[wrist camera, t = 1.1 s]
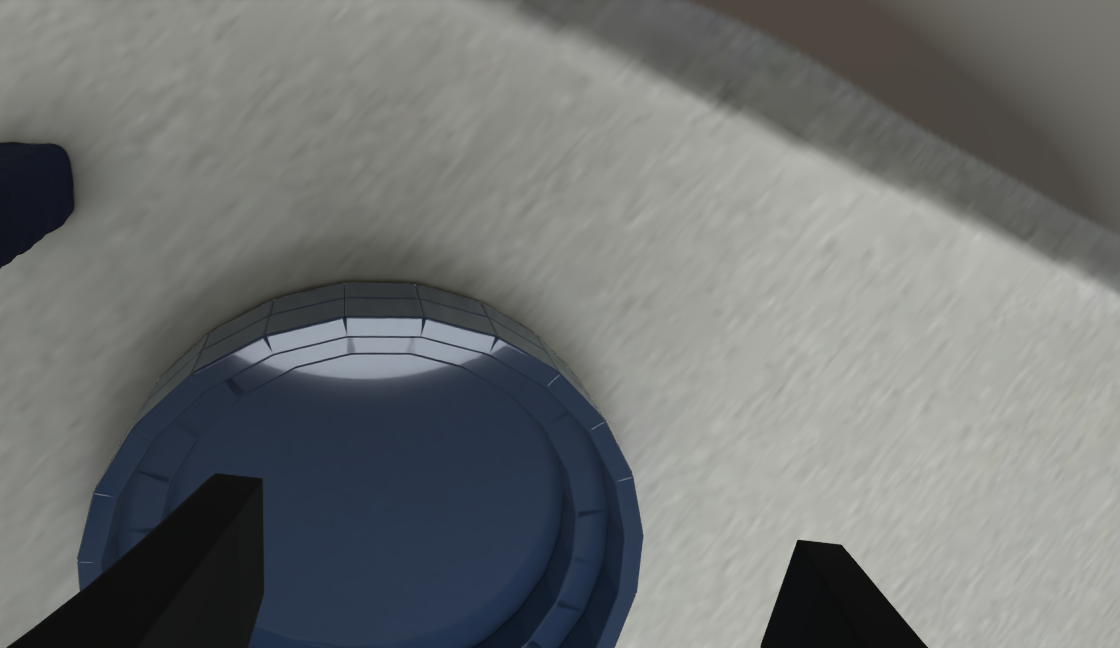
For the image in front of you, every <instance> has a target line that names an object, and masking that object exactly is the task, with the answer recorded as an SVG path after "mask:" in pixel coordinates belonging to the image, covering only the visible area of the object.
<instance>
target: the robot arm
mask: <svg viewBox="0 0 1120 648" xmlns="http://www.w3.org/2000/svg"><path fill="white" fill-rule="evenodd" d="M263 596H264V534H263V478H256V477H247V476H238V475H229V474H221V473H215V474H214V475H212V476H211V477H209V478H208V479H207V480H206V481H205V482H204V483H202V484H201V485H200V486H199V487H198V488H197V489H196V490H195V491H194V492H193V493H192V494H191V495H190V496H188V497H187V498H186V499H185V500H184V501H183V502H182V503H181V504H180V505H179V506H178V507H177V508H176V509H175V510H173V511H172V512H171V513H170V514H169V515H168V516H167V517H166V518H165V519H164V520H163V521H161V522H160V523H159V524H158V525H157V526H156V527H155V528H154V529H153V530H152V531H150V532H149V533H148V534H147V535H146V536H145V537H144V538H143V539H142V540H140V541H139V542H138V543H137V544H136V545H135V546H133V547H132V548H131V549H130V550H129V551H128V552H126V553H125V554H124V555H123V556H122V557H121V558H119V559H118V560H117V561H116V562H115V563H114V564H112V565H111V566H110V567H109V568H108V569H107V570H105V571H104V572H103V573H102V574H101V575H100V576H98V577H97V578H96V579H95V580H94V581H92V582H91V583H90V584H89V585H88V586H86V587H85V588H84V589H83V590H81V591H80V592H79V593H78V594H76V595H75V596H74V597H72V598H71V599H70V600H69V601H67V602H66V603H65V604H63V605H62V606H61V607H60V608H58V609H57V610H56V611H54V612H53V613H52V614H51V615H49V616H48V617H47V618H45V619H44V620H43V621H42V622H40V623H39V624H38V625H37V626H35V627H34V628H33V629H31V630H30V631H29V632H27V633H26V634H25V635H23V636H22V637H20V638H19V639H18V640H16V641H15V642H14V643H12V644H11V645H9V646H8V647H7V648H248V646H249V643H250V639H251V636H252V633H253V630H254V626H255V623H256V619H257V616H258V613H259V609H260V606H261V603H262V599H263ZM761 648H928V647H927V646H926V645H925V644H924V643H923V642H922V640H921V639H920V638H919V637H918V636H917V634H916V633H915V632H914V631H913V630H912V629H911V627H910V626H909V625H908V624H907V623H906V621H905V620H904V619H903V618H902V617H901V615H900V614H899V613H898V612H897V611H896V609H895V608H894V607H893V606H892V605H891V603H890V602H889V601H888V600H887V599H886V597H885V596H884V595H883V594H882V593H881V591H880V590H879V589H878V588H877V587H876V585H875V584H874V583H873V582H872V580H871V579H870V578H869V577H868V576H867V574H866V573H865V572H864V571H863V570H862V568H861V567H860V566H859V565H858V564H857V562H856V561H855V560H854V559H853V558H852V557H851V555H850V554H849V553H848V552H847V551H846V550H845V548H844V547H843V546H842V545H839V544H831V543H822V542H813V541H804V540H797V543H796V546H795V549H794V552H793V554H792V557H791V560H790V563H789V566H788V569H787V572H786V574H785V577H784V580H783V583H782V586H781V589H780V592H779V595H778V597H777V600H776V603H775V606H774V609H773V612H772V615H771V617H770V620H769V623H768V626H767V629H766V632H765V635H764V637H763V640H762V643H761Z"/></svg>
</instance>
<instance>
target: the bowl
mask: <svg viewBox="0 0 1120 648" xmlns="http://www.w3.org/2000/svg"><path fill="white" fill-rule="evenodd" d="M215 473H221V474H229V475H238V476H247V477H256V478H263V534H264V596H263V599H262V603H261V606H260V609H259V613H258V616H257V619H256V623H255V626H254V630H253V633H252V636H251V639H250V643H249V646H248V648H615V646H616V643H617V641H618V638H619V636H620V633H621V631H622V628H623V626H624V623H625V621H626V618H627V616H628V613H629V611H630V608H631V606H632V603H633V601H634V598H635V596H636V593H637V586H638V578H639V569H640V560H641V551H642V543H643V529H642V523H641V517H640V512H639V506H638V500H637V495H636V489H635V483H634V477H633V475H632V471H631V469H630V467H629V465H628V463H627V461H626V459H625V457H624V455H623V454H622V452H621V450H620V448H619V446H618V444H617V442H616V440H615V438H614V436H613V434H612V432H611V430H610V428H609V426H608V424H607V422H606V420H605V419H604V417H603V416H602V414H601V413H600V411H599V410H598V408H597V407H596V405H595V404H594V402H593V401H592V399H591V398H590V396H589V395H588V393H587V392H586V390H585V389H584V387H583V386H582V384H581V383H580V381H579V380H578V378H577V377H576V376H575V374H574V373H573V372H572V371H571V370H570V369H569V368H568V367H567V366H566V365H565V364H564V363H563V362H562V361H561V360H560V359H559V358H558V357H557V356H556V355H555V353H554V352H553V351H552V350H551V349H550V348H549V347H548V346H547V345H546V344H545V343H544V342H543V341H542V340H541V339H540V338H539V337H538V336H537V335H535V333H533V332H532V331H530V330H528V329H527V328H525V327H523V326H522V325H520V324H518V323H517V322H515V321H513V320H511V319H510V318H508V317H506V316H505V315H503V314H501V313H500V312H498V311H496V310H495V309H493V308H491V307H489V306H488V305H486V304H484V303H483V302H481V303H480V302H479V301H477V300H473V299H469V298H466V297H462V296H459V295H455V294H451V293H448V292H444V291H441V290H437V289H433V288H430V287H426V286H423V285H419V284H418V285H415V284H413V283H361V282H347V283H345V284H344V283H339V284H335V285H330V286H326V287H322V288H318V289H313V290H309V291H305V292H300V293H296V294H292V295H288V296H283V297H279V298H276V299H275V300H270V301H268V302H266V303H264V304H262V305H261V306H259V307H257V308H255V309H253V310H251V311H249V312H247V313H245V314H243V315H241V316H239V317H238V318H236V319H234V320H232V321H230V322H228V323H226V324H224V325H222V326H220V327H218V328H217V329H215V330H213V331H211V333H208V334H207V335H206V336H205V337H204V338H202V339H201V340H200V341H199V342H198V343H197V344H196V345H195V346H194V347H193V348H192V349H191V350H189V351H188V352H187V353H186V354H185V355H184V356H183V357H182V358H181V359H180V360H179V361H177V362H176V363H175V364H174V365H173V366H172V367H171V368H170V369H169V370H168V371H167V372H166V373H164V374H163V375H162V376H161V377H160V378H159V380H158V382H156V384H155V385H154V387H153V389H152V390H151V392H150V394H149V395H148V397H147V399H146V400H145V402H144V404H143V405H142V407H141V408H140V410H139V412H138V413H137V415H136V417H135V418H134V420H133V422H132V423H131V425H130V427H129V428H128V430H127V432H126V433H125V435H124V437H123V439H122V440H121V442H120V444H119V446H118V448H117V449H116V451H115V453H114V455H113V457H112V459H111V460H110V462H109V464H108V466H107V468H106V469H105V471H104V473H103V475H102V477H101V479H100V480H99V482H98V484H97V486H96V488H95V490H94V492H93V495H92V500H91V504H90V508H89V512H88V516H87V520H86V524H85V528H84V532H83V537H82V541H81V545H80V549H79V553H78V557H77V559H78V561H77V565H78V576H79V588H80V591H81V590H83V589H84V588H85V587H86V586H88V585H89V584H90V583H91V582H92V581H94V580H95V579H96V578H97V577H98V576H100V575H101V574H102V573H103V572H104V571H105V570H107V569H108V568H109V567H110V566H111V565H112V564H114V563H115V562H116V561H117V560H118V559H119V558H121V557H122V556H123V555H124V554H125V553H126V552H128V551H129V550H130V549H131V548H132V547H133V546H135V545H136V544H137V543H138V542H139V541H140V540H142V539H143V538H144V537H145V536H146V535H147V534H148V533H149V532H150V531H152V530H153V529H154V528H155V527H156V526H157V525H158V524H159V523H160V522H161V521H163V520H164V519H165V518H166V517H167V516H168V515H169V514H170V513H171V512H172V511H173V510H175V509H176V508H177V507H178V506H179V505H180V504H181V503H182V502H183V501H184V500H185V499H186V498H187V497H188V496H190V495H191V494H192V493H193V492H194V491H195V490H196V489H197V488H198V487H199V486H200V485H201V484H202V483H204V482H205V481H206V480H207V479H208V478H209V477H211V476H212V475H214V474H215Z"/></svg>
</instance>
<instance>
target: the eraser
mask: <svg viewBox="0 0 1120 648" xmlns="http://www.w3.org/2000/svg"><path fill="white" fill-rule="evenodd" d="M73 209H74V201H73V179H72V173H71V168H70V162H69V157H68V155H67V153H66V151H65V150H64V149H63V148H62V147H60V146H58V145H55V144H24V143H17V142H8V143H0V268H1V267H2V266H5V265H7V264H8V263H10V262H11V261H12V260H13V259H14V258H15V257H16V256H17V255H20V254H23V253H24V252H26V251H28V250H29V249H31V248H32V246H33V245H34V244H35V243H37V242H38V241H40V240H41V239H42V238H43V237H44V236H45V235H46V234H48V233H50V232H52V231H54V230H56V229H58V228H59V227H61V226H62V225H63V224H64V223H65V222H66V220H67V218H68V217H69V216H70V215H71V213H72V212H73Z"/></svg>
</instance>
